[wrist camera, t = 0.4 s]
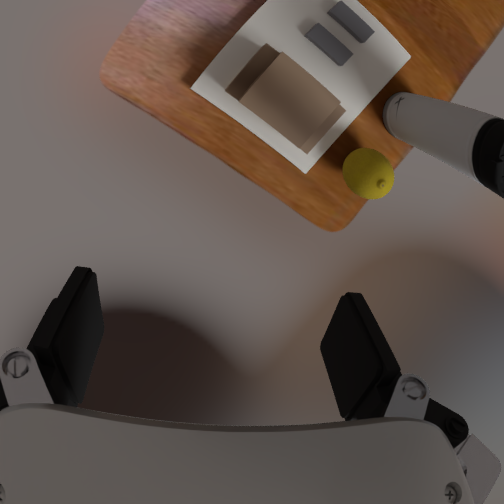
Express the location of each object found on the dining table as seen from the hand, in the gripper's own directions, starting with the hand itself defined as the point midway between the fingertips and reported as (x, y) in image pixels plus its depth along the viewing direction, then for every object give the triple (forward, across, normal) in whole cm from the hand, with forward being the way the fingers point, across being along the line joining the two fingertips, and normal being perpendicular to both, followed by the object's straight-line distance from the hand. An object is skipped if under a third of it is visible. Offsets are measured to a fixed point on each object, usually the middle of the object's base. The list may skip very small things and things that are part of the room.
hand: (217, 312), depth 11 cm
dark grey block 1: (+25, -9, -14) cm, 30 cm away
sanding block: (+25, -5, -7) cm, 27 cm away
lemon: (+27, -16, -1) cm, 31 cm away
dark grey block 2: (+25, -11, -18) cm, 33 cm away
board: (+27, -8, -12) cm, 30 cm away
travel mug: (+27, -21, -9) cm, 35 cm away
